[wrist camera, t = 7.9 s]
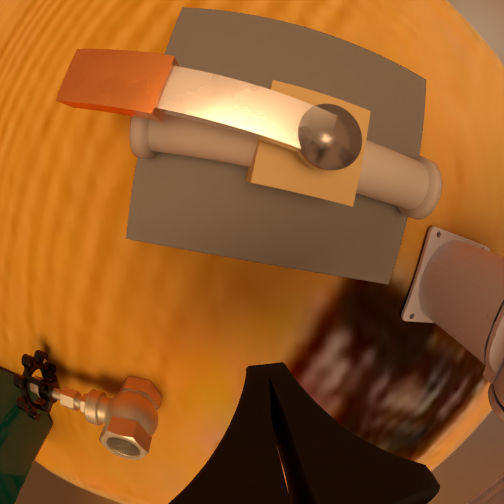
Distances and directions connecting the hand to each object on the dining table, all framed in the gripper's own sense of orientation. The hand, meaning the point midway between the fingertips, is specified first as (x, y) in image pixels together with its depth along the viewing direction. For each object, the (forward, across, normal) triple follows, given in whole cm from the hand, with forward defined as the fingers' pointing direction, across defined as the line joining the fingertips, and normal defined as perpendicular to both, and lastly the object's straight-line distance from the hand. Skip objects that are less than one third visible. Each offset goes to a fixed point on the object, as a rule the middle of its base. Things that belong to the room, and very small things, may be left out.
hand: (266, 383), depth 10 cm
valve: (+10, +14, +8) cm, 19 cm away
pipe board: (+9, -3, -9) cm, 13 cm away
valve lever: (+4, +1, -11) cm, 11 cm away
